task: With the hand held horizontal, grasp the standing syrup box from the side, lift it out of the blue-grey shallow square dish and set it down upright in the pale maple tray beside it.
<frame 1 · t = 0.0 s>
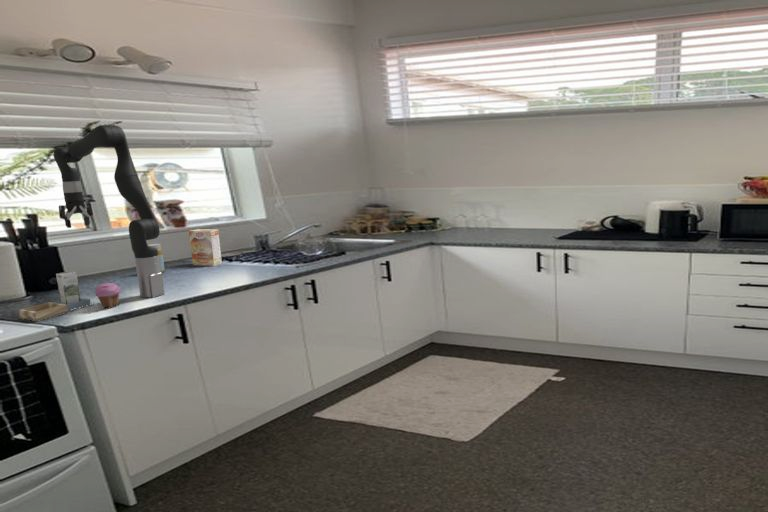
hand: (78, 226, 242), 29 cm above the worktop, tool pointing down, fingers open, 8 cm apart
tray: (44, 315, 202), on the worktop
syrup box: (71, 307, 213), resting in blue-grey shallow square dish
coffeecake box: (207, 264, 293), on the worktop
blue-grey shallow square dish: (71, 307, 213), on the worktop
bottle: (157, 273, 276), on the worktop
cupcake: (110, 307, 211), on the worktop
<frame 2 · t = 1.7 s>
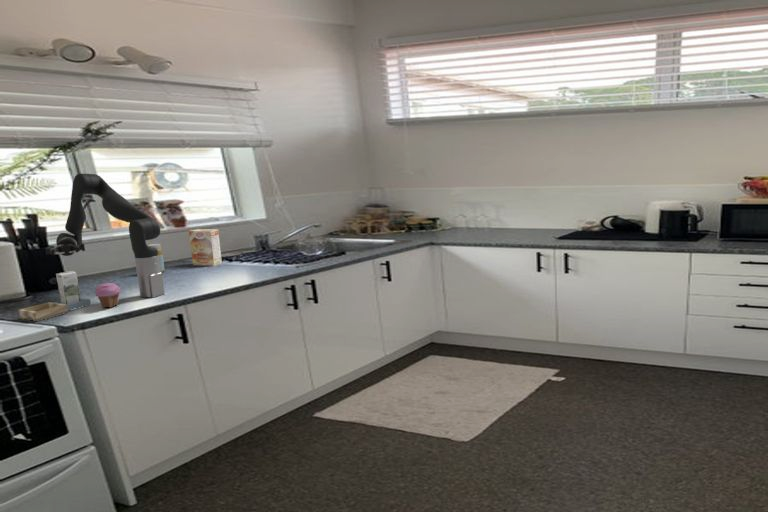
hand: (64, 251, 219), 22 cm above the worktop, tool horizontal, fingers open, 8 cm apart
nothing on the worktop moved.
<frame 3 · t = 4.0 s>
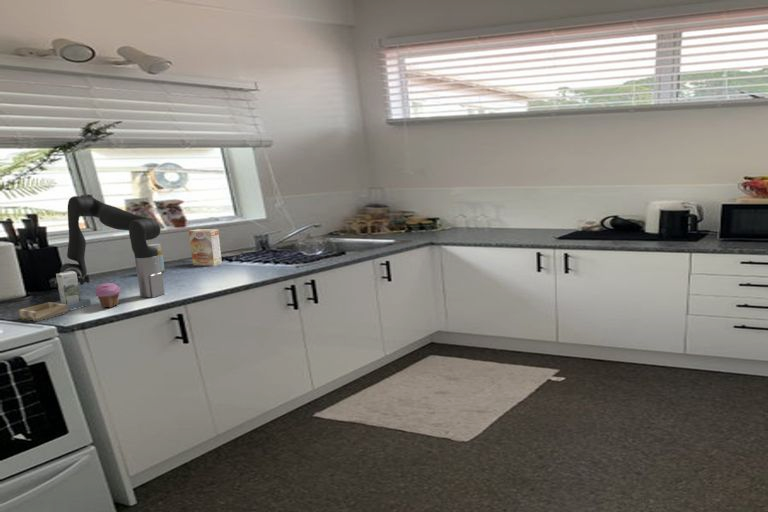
hand: (69, 284, 217), 8 cm above the worktop, tool horizontal, fingers open, 8 cm apart
nothing on the worktop moved.
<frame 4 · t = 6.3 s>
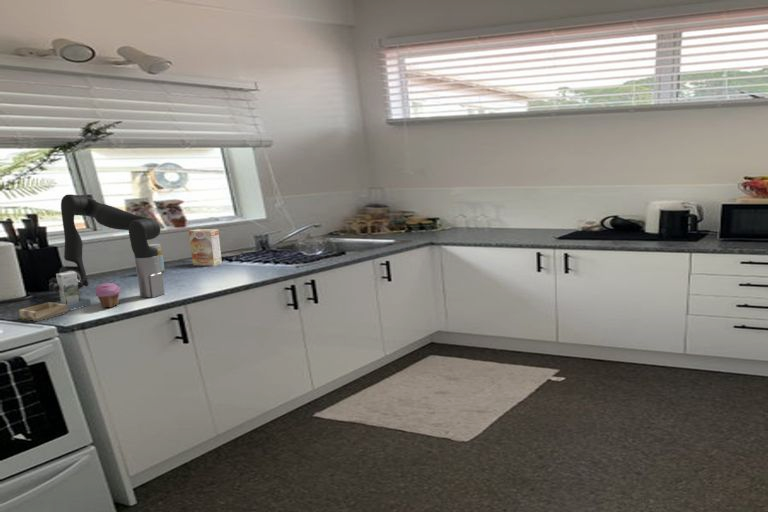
hand: (68, 287, 210), 9 cm above the worktop, tool horizontal, fingers closed on syrup box, 7 cm apart
syrup box: (71, 307, 213), resting in blue-grey shallow square dish, touching gripper
everything else where it was.
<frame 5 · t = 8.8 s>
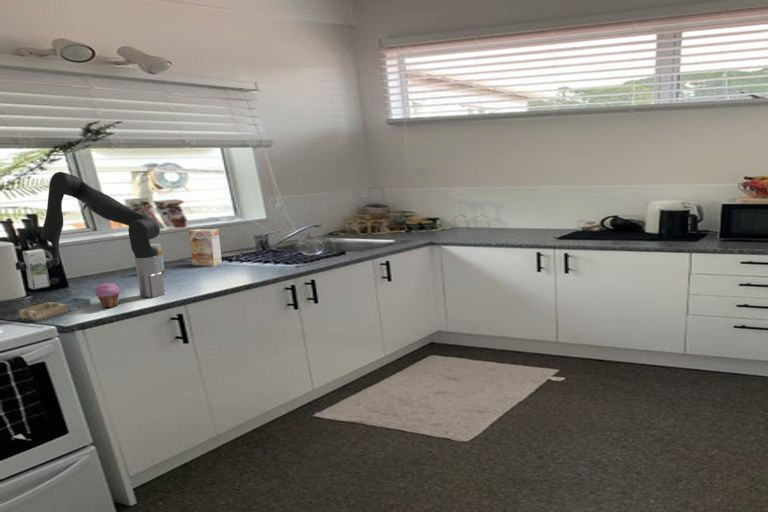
hand: (35, 266, 197), 20 cm above the worktop, tool horizontal, fingers closed on syrup box, 7 cm apart
syrup box: (39, 287, 201), point 11 cm above the worktop, touching gripper
everything else where it was.
when the fingers open (11 cm above the worktop, at t = 11.6 s): syrup box drops 1 cm, resting on tray.
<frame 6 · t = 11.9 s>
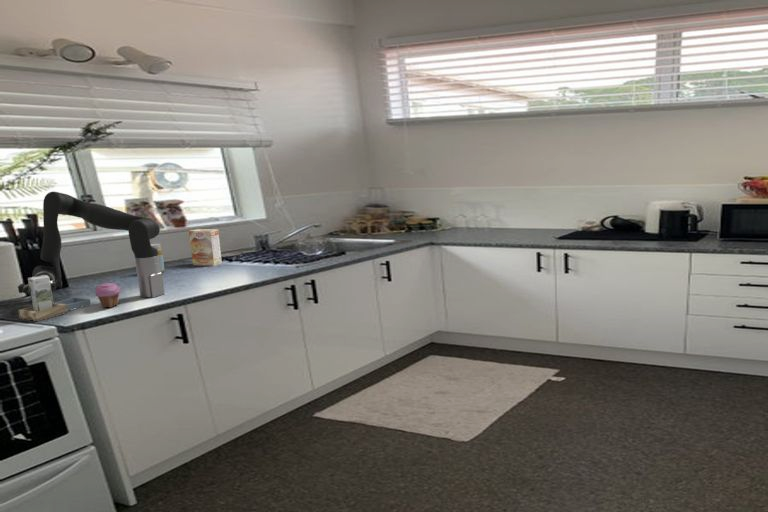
hand: (39, 289, 198), 11 cm above the worktop, tool horizontal, fingers open, 8 cm apart
syrup box: (44, 313, 202), point 1 cm above the worktop, touching gripper, tray
everything else where it was.
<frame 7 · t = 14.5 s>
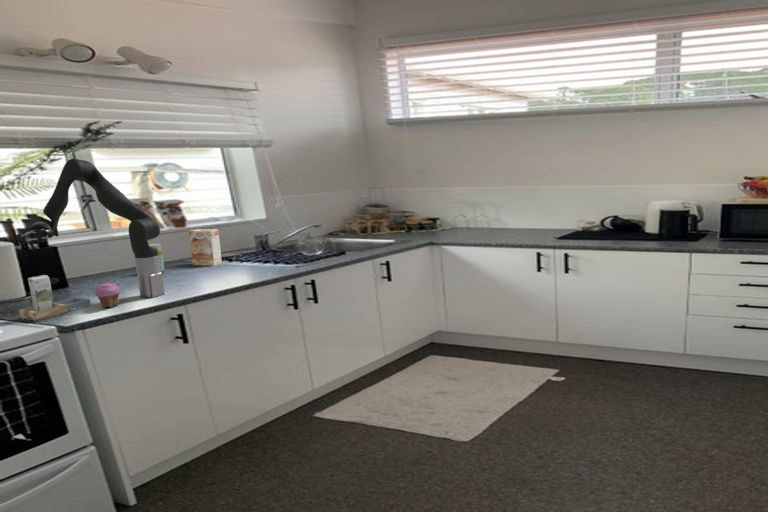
hand: (36, 237, 206), 29 cm above the worktop, tool horizontal, fingers open, 8 cm apart
syrup box: (44, 313, 202), point 1 cm above the worktop, touching tray
everything else where it was.
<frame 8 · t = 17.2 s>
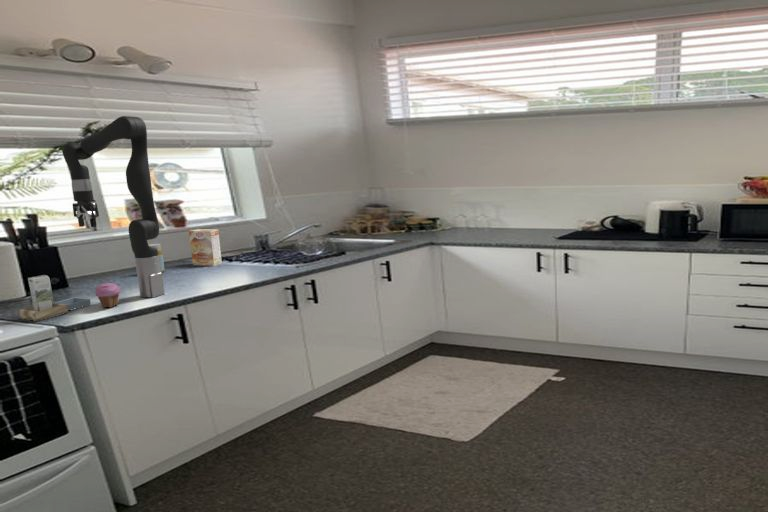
hand: (87, 226, 231), 30 cm above the worktop, tool pointing down, fingers open, 8 cm apart
nothing on the worktop moved.
at the end: syrup box inside the target area on the tray (0.3 cm from its centre), point 0.8 cm above the tray's base; syrup box tilted 0°; the gripper is holding nothing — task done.
